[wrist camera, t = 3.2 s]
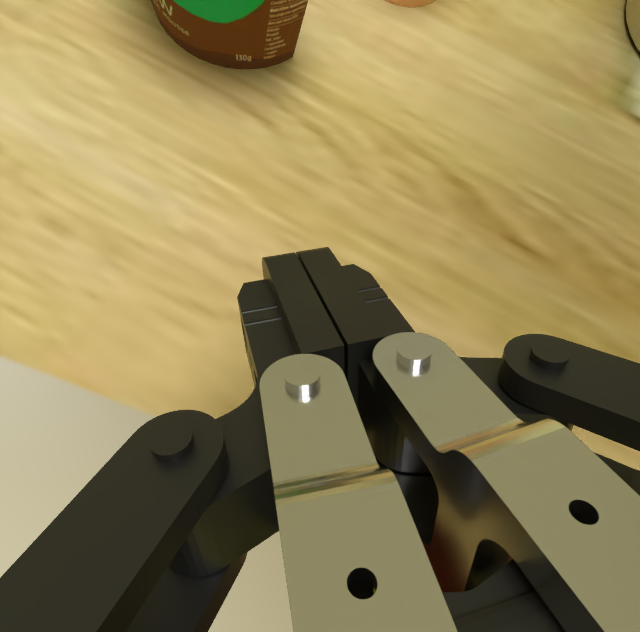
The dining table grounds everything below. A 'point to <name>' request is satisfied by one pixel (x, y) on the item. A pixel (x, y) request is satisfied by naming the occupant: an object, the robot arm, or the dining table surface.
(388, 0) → the peach rounded cylinder
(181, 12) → the food container
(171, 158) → the dining table surface
